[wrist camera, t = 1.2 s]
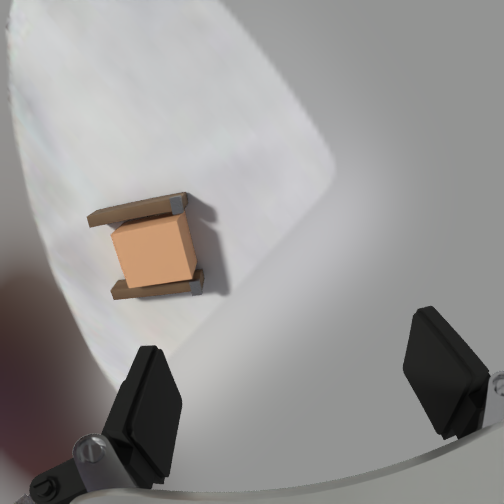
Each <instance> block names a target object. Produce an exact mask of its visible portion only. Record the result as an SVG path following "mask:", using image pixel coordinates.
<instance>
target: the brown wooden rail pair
mask: <svg viewBox="0 0 504 504" xmlns="http://www.w3.org/2000/svg"><path fill="white" fill-rule="evenodd" d="M187 204H188V200H187V195H186V192H182V193H176V194H171V195H166V196H161V197H156V198H151V199H146V200H141V201H136V202H131V203H127V204H122V205H117V206H113V207H109V208H104V209H100V210H96V211H95V212H93V213H92V214H90V215H89V216H87V220H88V223H89V227H90V228H91V227H95V226H100V225H105V224H109V223H114V222H119V221H124V220H129V219H134V218H139V217H145V216H150V215H155V214H161V213H166V212H172V214H173V215H175V214H181V213H183V212H184V208H185V207H186V205H187ZM203 283H204V275H203V270H202V269H200V270H195V271H194V274H193V278H192V279H188V280H182V281H175V282H168V283H162V284H155V285H148V286H142V287H135V288H129V287H128V284H127V282H126V279H125V280H118V281H117V282H116V284H115V285H114V287H113V288H112V289H111V293H112V296H113V299H114V300H118V299H128V298H137V297H147V296H156V295H165V294H173V293H182V292H190V291H191V292H192V296H194V295H202V288H203Z"/></svg>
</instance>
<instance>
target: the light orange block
mask: <svg viewBox="0 0 504 504" xmlns="http://www.w3.org/2000/svg"><path fill="white" fill-rule="evenodd" d="M111 238H112V241H113V244H114V247H115V250H116V253H117V256H118V259H119V262H120V265H121V268H122V271H123V273H124V276H125V279H126V282H127V284H128V287H129V288H135V287H142V286H148V285H155V284H162V283H168V282H175V281H182V280H188V279H192V278H193V274H194V271H195V268H196V264H197V259H196V255H195V251H194V247H193V243H192V239H191V235H190V231H189V227H188V223H187V219H186V214H185V210H184V212H183V213H181V214H175V215H173V214H172V212H170V213H165V214H160V215H156V216H151V217H146V218H142V219H137V220H133V221H128V222H124V223H123V224H122V225H121V226H120V227H119V228H118V229H116V230H115V231H114V232H113V233H112V234H111Z"/></svg>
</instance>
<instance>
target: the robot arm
mask: <svg viewBox="0 0 504 504" xmlns="http://www.w3.org/2000/svg"><path fill="white" fill-rule="evenodd" d="M403 371H404V374H405V376H406V378H407V379H408V381H409V383H410V385H411V387H412V388H413V390H414V392H415V394H416V395H417V397H418V399H419V401H420V403H421V405H422V406H423V408H424V410H425V412H426V414H427V416H428V417H429V419H430V421H431V423H432V425H433V427H434V429H435V431H436V432H437V434H439V435H440V434H441V435H442V437H443V439H444V440H446V439H448V438H450V437H452V436H455V435H456V436H457V438H458V440H456V441H454V442H452V443H450V444H447V445H445V446H442V447H440V448H438V449H435V450H433V451H430V452H428V453H425V454H423V455H420V456H417V457H414V458H412V459H409V460H406V461H403V462H400V463H397V464H394V465H391V466H388V467H384V468H381V469H378V470H374V471H370V472H367V473H363V474H359V475H355V476H351V477H346V478H342V479H338V480H332V481H328V482H322V483H316V484H311V485H304V486H298V487H290V488H282V489H272V490H260V491H244V492H183V491H167V490H151V488H152V485H153V483H156V484H164V479H165V477H169V474H170V469H171V463H172V457H173V452H174V446H175V440H176V435H177V430H178V425H179V419H180V414H181V409H182V398H181V395H180V393H179V391H178V388H177V386H176V384H175V381H174V379H173V376H172V374H171V371H170V369H169V366H168V364H167V361H166V358H165V356H164V353H163V351H162V349H158V348H157V346H155V345H153V346H141V347H140V348H139V350H138V352H137V355H136V357H135V359H134V361H133V364H132V366H131V368H130V371H129V373H128V375H127V378H126V380H125V381H123V383H122V384H121V386H120V389H119V391H118V394H117V396H116V399H115V401H114V404H113V406H112V408H111V411H110V413H109V416H108V418H107V421H106V423H105V426H104V428H103V431H102V434H101V435H100V434H89V435H85V436H83V437H82V438H80V439H79V440H78V441H77V442H76V444H75V446H74V447H73V458H72V459H70V460H68V461H66V462H64V463H62V464H60V465H58V466H56V467H54V468H52V469H50V470H48V471H46V472H44V473H42V474H40V475H38V476H36V477H35V478H34V479H33V480H32V482H31V485H30V490H29V491H30V494H29V495H28V496H27V495H26V494H24V495H23V496H22V497H21V498H20V499H18V500H17V501H16V502H15V503H14V504H504V371H499V372H496V373H494V374H493V375H492V376H490V374H489V373H488V372H489V370H488V368H487V367H486V366H485V365H484V364H483V362H482V361H481V360H480V359H479V358H478V356H477V355H476V354H475V353H474V352H473V350H472V349H470V347H469V346H468V345H467V343H466V342H465V341H464V340H463V339H462V338H461V337H460V336H459V335H458V333H457V332H456V331H455V330H454V329H453V328H452V327H451V326H450V324H449V323H448V322H447V321H446V320H445V319H444V318H443V317H442V316H441V315H440V314H439V312H438V311H437V310H436V309H435V308H434V307H433V306H428V307H424V308H420V309H418V310H417V312H416V313H415V314H414V315H413V319H412V325H411V330H410V335H409V340H408V345H407V350H406V355H405V359H404V363H403Z"/></svg>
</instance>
